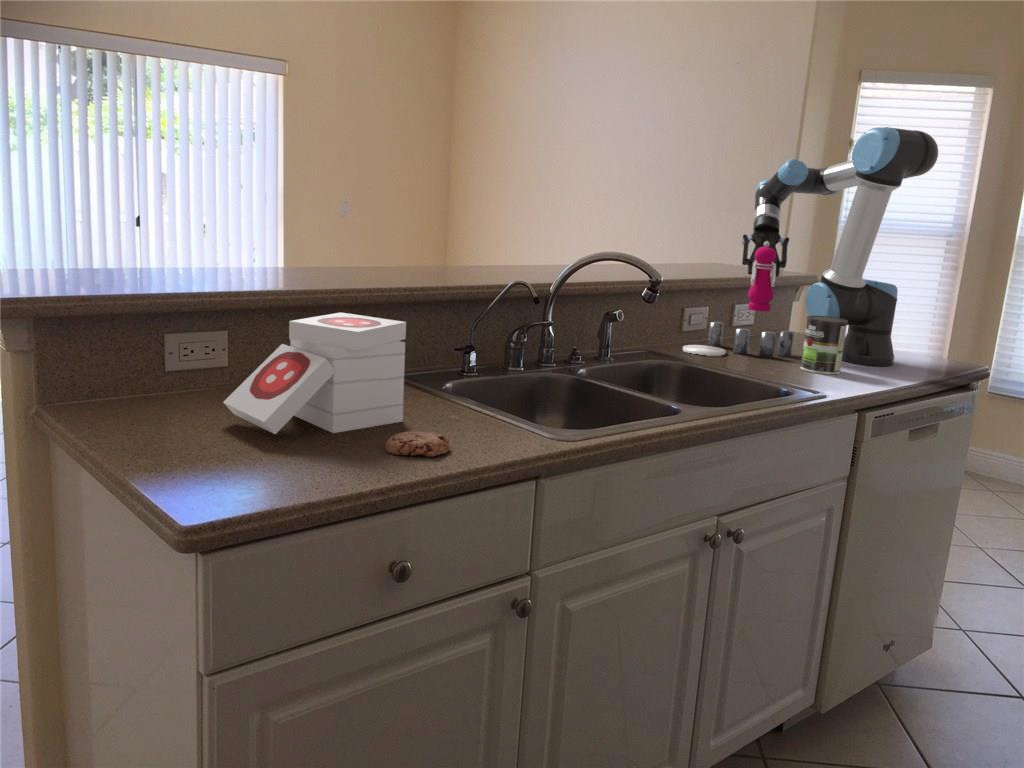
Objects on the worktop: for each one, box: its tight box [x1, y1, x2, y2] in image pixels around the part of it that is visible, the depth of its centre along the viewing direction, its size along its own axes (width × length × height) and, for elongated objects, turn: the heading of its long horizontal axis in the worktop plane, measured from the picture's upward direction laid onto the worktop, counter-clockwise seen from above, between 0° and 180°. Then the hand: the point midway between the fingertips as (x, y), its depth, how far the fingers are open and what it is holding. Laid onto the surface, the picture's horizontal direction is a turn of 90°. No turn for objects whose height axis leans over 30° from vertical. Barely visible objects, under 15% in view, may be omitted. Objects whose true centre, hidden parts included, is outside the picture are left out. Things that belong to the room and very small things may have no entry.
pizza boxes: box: [222, 312, 407, 435], centre depth 160 cm, size 19×30×18 cm, turn 133°
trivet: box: [682, 344, 727, 357], centre depth 256 cm, size 12×12×1 cm
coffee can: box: [799, 315, 848, 376], centre depth 237 cm, size 10×10×14 cm
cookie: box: [385, 430, 451, 457], centre depth 148 cm, size 10×11×3 cm
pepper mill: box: [747, 241, 776, 312], centre depth 260 cm, size 7×7×20 cm
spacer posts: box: [707, 321, 795, 359], centre depth 261 cm, size 20×18×7 cm
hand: (762, 282), depth 257 cm, fingers closed on pepper mill, 5 cm apart
